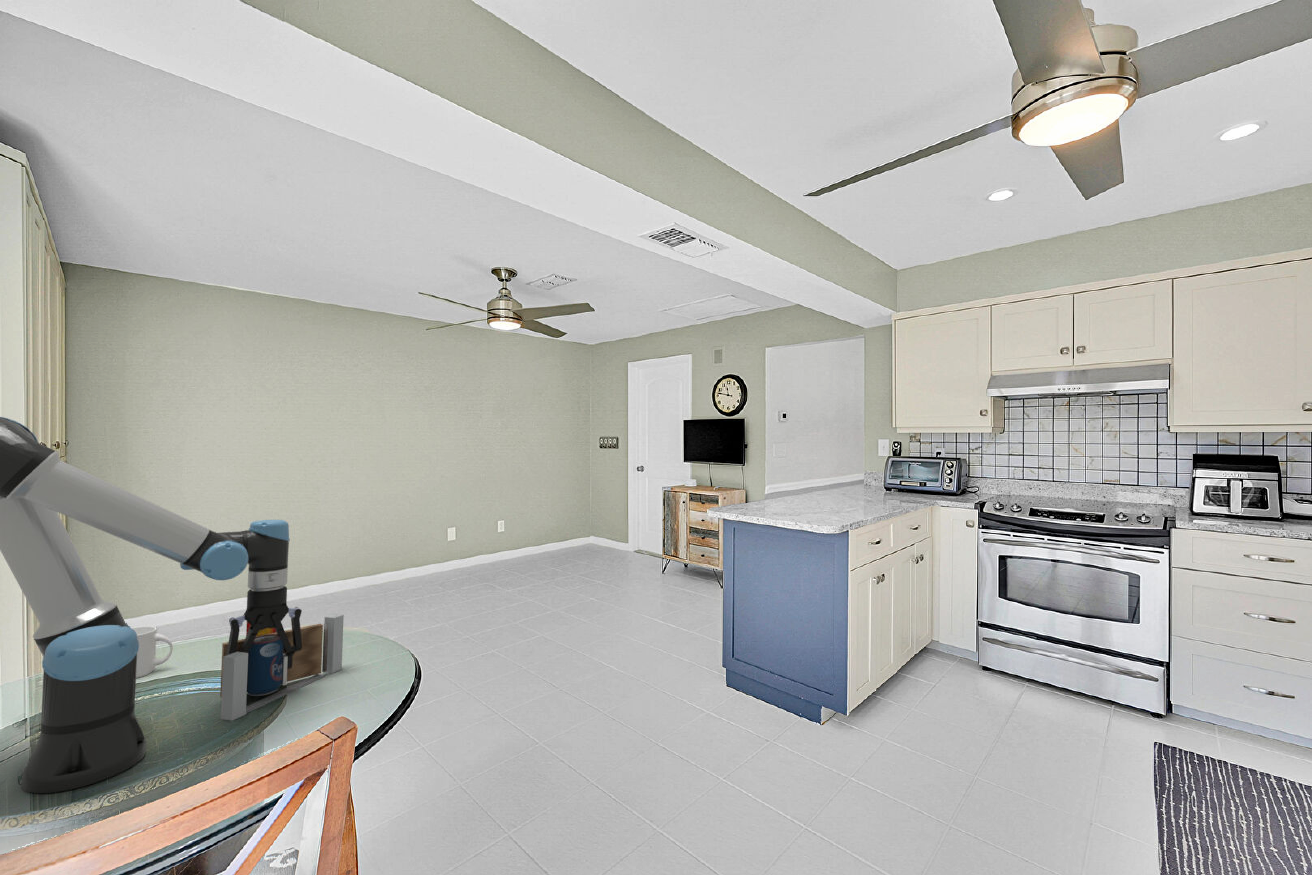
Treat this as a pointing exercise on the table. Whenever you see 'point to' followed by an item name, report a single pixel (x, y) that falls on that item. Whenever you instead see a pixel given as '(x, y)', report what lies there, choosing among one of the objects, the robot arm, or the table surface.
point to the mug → (149, 649)
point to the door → (300, 652)
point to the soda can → (265, 665)
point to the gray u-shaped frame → (237, 691)
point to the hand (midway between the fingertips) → (263, 688)
